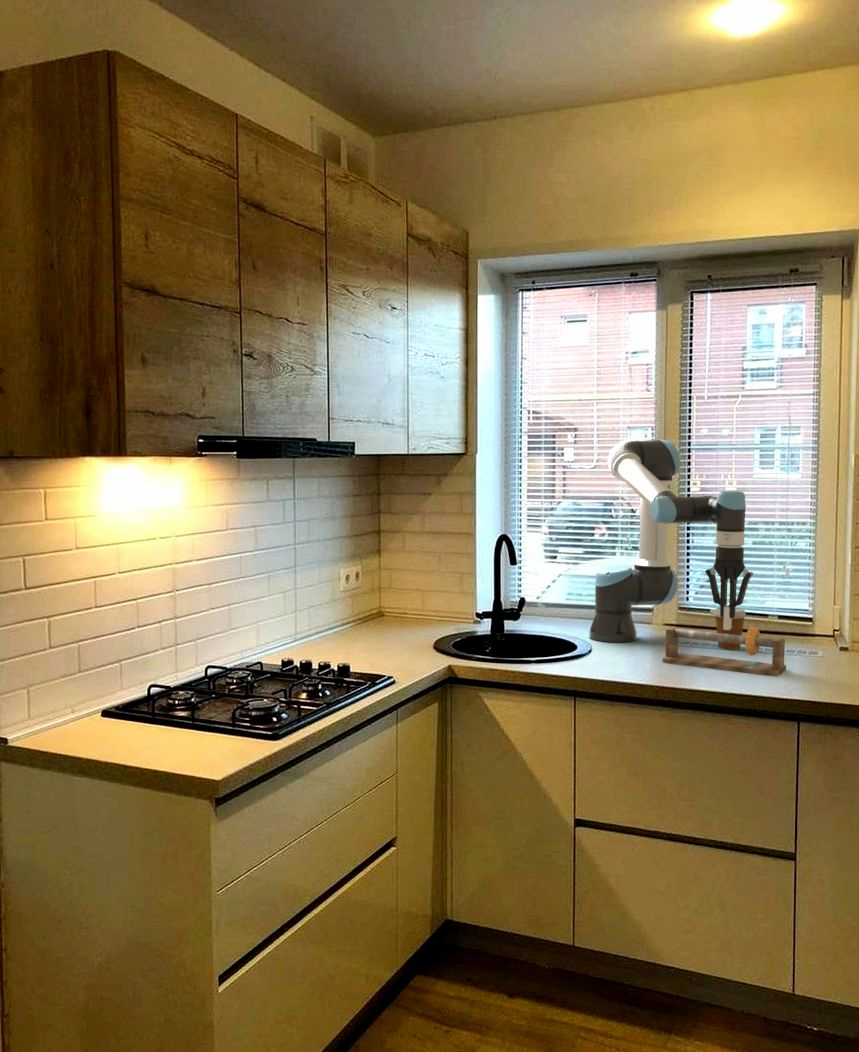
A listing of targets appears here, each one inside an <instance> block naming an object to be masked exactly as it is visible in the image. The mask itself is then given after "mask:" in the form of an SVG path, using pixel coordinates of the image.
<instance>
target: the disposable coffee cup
mask: <svg viewBox="0 0 859 1052" xmlns="http://www.w3.org/2000/svg"><path fill="white" fill-rule="evenodd" d="M713 615H714V617H715V625H716V633H721V634H731V635H740V636H743V628H744V622H745V617H746V616H747V614H746V611H745V609H743V608H739V607H736V608H735V617H734V618H732V621H731V629H730V630H723V622H724V617H721V616H720V607H716V608H715V610H714V612H713ZM717 644H718V648H720V649H722V648H723V650H739V649H740V648H741V644H735V643H726V642H717Z"/></svg>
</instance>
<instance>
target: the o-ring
mask: <svg viewBox="0 0 859 1052" xmlns="http://www.w3.org/2000/svg"><path fill="white" fill-rule="evenodd" d="M746 631H747V632H746V634H745V636H746V638H745V639H746V641H745V644H746V645H744V647H745V651H746V653H747V655H750V656H755V655H757V654H758V652H759V649H760V646H755V638H756V637H760V638H761V633H760V630H759V629H758V627H756V626H751V627H749V628H748V629H747V630H746Z"/></svg>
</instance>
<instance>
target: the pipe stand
mask: <svg viewBox="0 0 859 1052" xmlns="http://www.w3.org/2000/svg"><path fill="white" fill-rule="evenodd" d="M679 638H681V639H691V640H700V641H709V642H717V643H718V642H726V643H735V644H740V645H744V646H745V645H746V644H745V641H746V639H745V638H746V635H742V636H740V635H731V634H721V633H717V632H711V631H710V632H709V631H701V630H699V631H698V630H691V629H680V628H679V627H677V626H670V627H668V628H666V629H665V656H664V657H662V659H661V660H662V663H667V664H675V665H683V666H691V667H698V668H704V669H705V668H706V669H714V670H715V669H716V670H723V671H731V672H739V673H746V674H754V675H760V676H761V675H762V676H771V677H779V676H780V675H781V674H782V673H784V672H785V671H786V670H787V665H786V664H785V644H786V639H785V638H783V637H776V638H768V637H767V638H766V637H761V636H760V637H756V638H755V646H759V647H763V648H771V649H772V662H771V663H768V662H761V661H755V660H746V659H745V660H744V659H735V658H725V657H717V656H710V655H701V654H693V653H685V652H684V653H683V652H679Z"/></svg>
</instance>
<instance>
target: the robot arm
mask: <svg viewBox="0 0 859 1052" xmlns="http://www.w3.org/2000/svg"><path fill="white" fill-rule="evenodd" d="M607 464H608V468H609V471H610V472H611V474H612V475H613V477H615V478H616V479H617V480H618V481H621V482H625V484H626V485H627V486H628V487H630V488H631V489H632V490H633V491H634V492H635V493H636V495H638V497H639V498H640V499H639V550H638V551H639V552H638V553H639V554H638V556H639V557H638V560H637V561H635V562H634V568H632V566H629V565H614V566H607V567H603V568H600V569H599V570H598V571H597V572H596V574H595V581H594V582H595V583H594V587H595V595H594V596H595V598H594V601H595V603H594V604H595V605H594V606H595V610H594V616H593V620H592V623H591V625H590V629H589V639H591V638H592V639H591V640H594V641H598V642H604V643H605V642H606V643H607V642H608V643H627V642H628V643H629V642H634V641H636V640H637V630H636V626H635V623H634V620H633V616H632V608H633V606H649V605H650V606H651V605H654V606H659V605H666V604H668V603H670V602H671V601H672V600H673V599H674V598H675V596H676V594H677V591H678V588H679V587H678V585H679V580H678V577H677V573H676V571H675V570H674V569H672V568H671V567H672V565H671V563H670V562H669V561H668V560H667V528H668V527H667V526H668V524H689V523H690V524H691V523H693V524H695V523H701V524H702V523H705V524H706V523H713V524H716V530H715V531H716V534H715V536H716V537H715V544H716V545H717V546H716V547H715V560H714V561H715V562H714V564H713V566H712V567H710V568H708V569H705V574H706V576H707V578H708V581H709V585H710V590H711V594H712V595H711V596H712V599H713V603H714V604H717V605H719V606H720V607H719V608H720V616H721V617H724V622H723V630H730V629H731V621H732V618H734V617H735V608H737V606H738V607H739V606H741V605H742V604H744V603H743V602H744V599H745V595H746V591H747V589H748V585H749V583H750V580H751V578H752V577H753V575H754V573H753V571H750V570H748V569H746V565H745V564H744V555H745V549H744V547H743V546H744V545H745V526H746V523H745V522H746V508H747V506H746V495H745V494H746V493H744V492H743V491H737V490H736V491H735V490H719V492H718V493H717V496H712V495H702V496H701V495H700V496H677V495H676V494H675V492H673V491H672V490H671V489H669V488H668V486H669V485H670V484H671V483H672V482H673V476H676V475H677V474H678V473H679V469H680V466H681V459H680V454H679V449H678V448H677V447H676V445H675V444H674V443H673V442H672V441H670V440H663V439H625V440H623V441H620V442H619V443H617V444H616V445H614V446H613V448H612V449H611V450H610V452H609V455H608V457H607ZM716 573H717V575H718V576H719V577H720V578H719V579H720V580H719V581H720V591H719V586H718V581H717V576H716ZM741 575H742V578H743V579H742V581H741V584H740V588H739V591H738V594H737V583H738V578H739V577H740V576H741ZM728 581H729V600H728ZM728 601H729V603H728Z"/></svg>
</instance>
